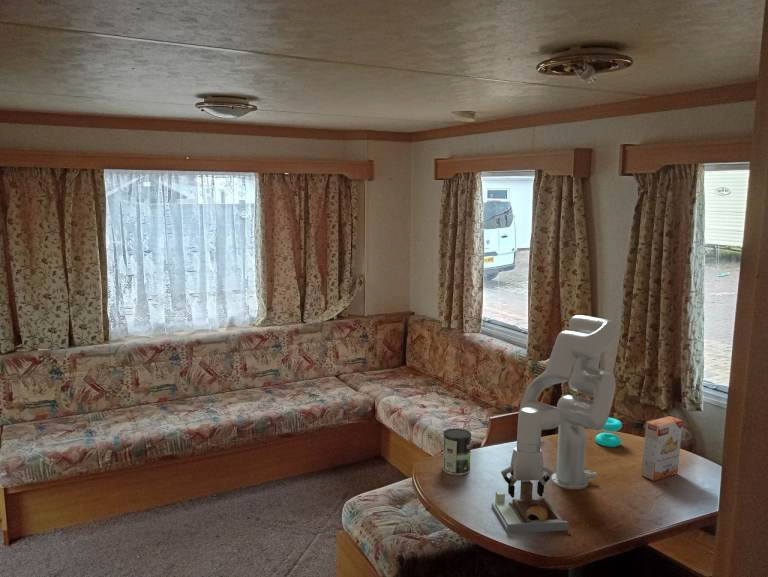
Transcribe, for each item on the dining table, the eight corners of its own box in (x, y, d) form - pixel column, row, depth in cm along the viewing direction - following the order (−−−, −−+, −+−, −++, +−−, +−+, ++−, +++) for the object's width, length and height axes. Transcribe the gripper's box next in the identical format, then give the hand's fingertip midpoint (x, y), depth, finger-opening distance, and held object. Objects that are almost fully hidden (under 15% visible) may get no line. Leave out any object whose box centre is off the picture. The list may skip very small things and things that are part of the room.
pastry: (532, 509, 207) (532, 498, 207) (552, 515, 204) (553, 504, 203) (522, 521, 199) (523, 510, 199) (543, 527, 196) (544, 516, 195)
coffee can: (471, 465, 241) (472, 429, 239) (469, 476, 231) (470, 439, 229) (443, 462, 243) (444, 427, 241) (440, 473, 233) (441, 436, 231)
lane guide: (547, 505, 210) (547, 496, 209) (567, 531, 194) (567, 521, 193) (491, 507, 208) (492, 498, 207) (507, 534, 191) (507, 524, 191)
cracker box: (654, 482, 228) (659, 426, 226) (640, 476, 234) (644, 421, 231) (679, 474, 236) (683, 419, 233) (664, 468, 241) (669, 415, 238)
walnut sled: (540, 499, 213) (541, 479, 212) (562, 528, 194) (563, 506, 193) (508, 500, 212) (509, 480, 211) (527, 530, 193) (528, 508, 192)
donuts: (599, 423, 259) (594, 415, 269) (597, 447, 260) (593, 438, 270) (625, 425, 258) (619, 417, 267) (623, 449, 259) (617, 439, 269)
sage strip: (505, 502, 211) (505, 490, 210) (523, 530, 193) (524, 518, 192) (492, 502, 210) (492, 491, 210) (509, 531, 192) (509, 518, 192)
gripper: (549, 440, 213) (546, 489, 215) (499, 442, 211) (496, 491, 213) (558, 449, 206) (555, 499, 208) (506, 450, 204) (503, 501, 206)
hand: (525, 495), depth 210 cm, fingers open, 9 cm apart
